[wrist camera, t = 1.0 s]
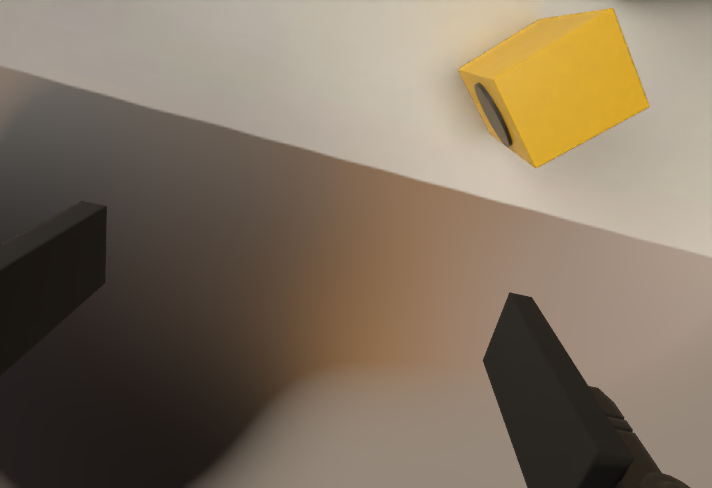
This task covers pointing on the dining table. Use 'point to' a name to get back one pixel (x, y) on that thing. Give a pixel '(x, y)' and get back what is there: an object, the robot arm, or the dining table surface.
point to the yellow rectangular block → (556, 84)
